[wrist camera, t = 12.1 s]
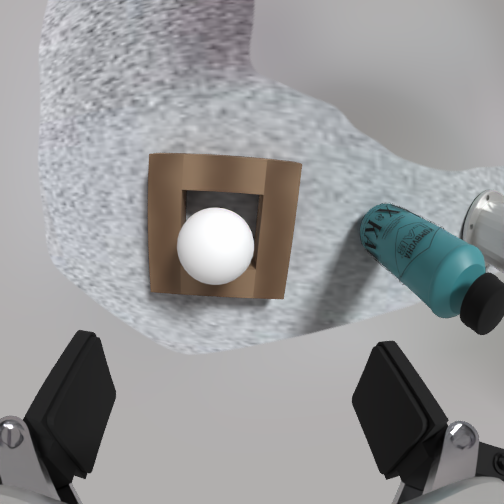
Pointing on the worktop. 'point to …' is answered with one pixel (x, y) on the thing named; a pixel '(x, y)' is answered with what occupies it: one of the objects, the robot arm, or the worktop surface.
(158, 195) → the socket block
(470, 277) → the beverage bottle
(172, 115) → the worktop surface
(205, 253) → the lightbulb
